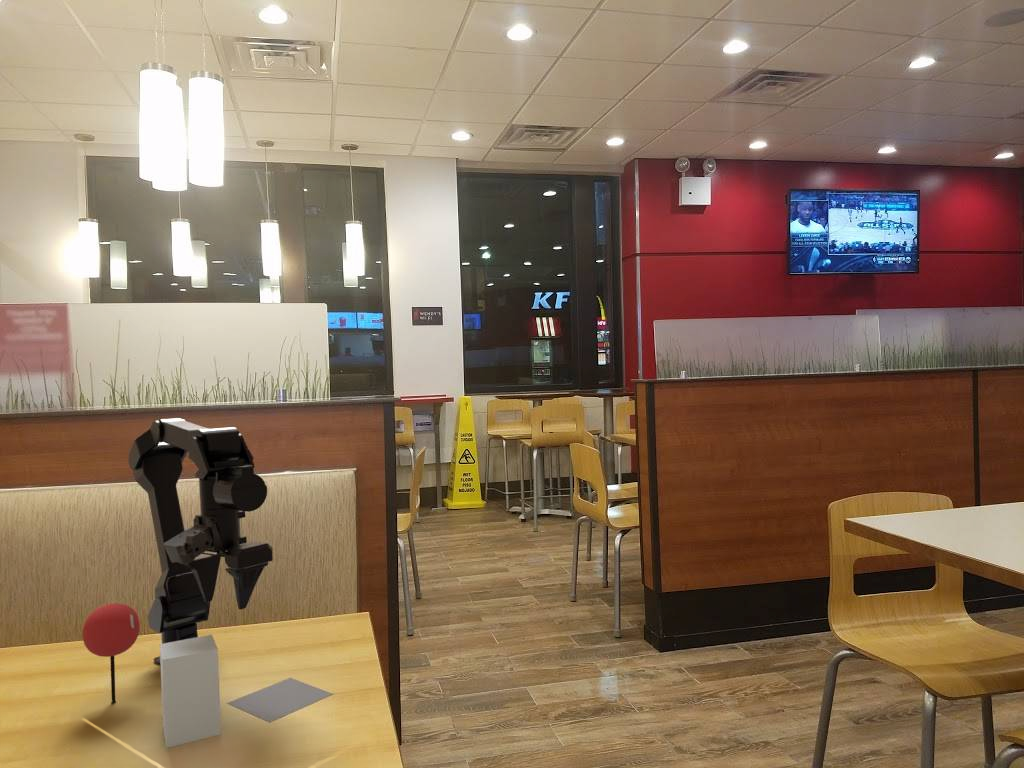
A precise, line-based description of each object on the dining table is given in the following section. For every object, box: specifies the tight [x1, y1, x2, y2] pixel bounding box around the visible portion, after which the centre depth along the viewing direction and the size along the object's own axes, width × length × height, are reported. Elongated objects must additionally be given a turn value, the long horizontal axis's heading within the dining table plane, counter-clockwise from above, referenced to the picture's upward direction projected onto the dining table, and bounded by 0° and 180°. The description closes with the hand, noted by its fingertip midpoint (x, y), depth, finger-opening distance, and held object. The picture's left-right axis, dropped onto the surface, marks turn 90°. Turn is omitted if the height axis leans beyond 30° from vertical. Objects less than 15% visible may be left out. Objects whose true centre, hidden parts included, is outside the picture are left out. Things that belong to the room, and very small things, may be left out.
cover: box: [159, 634, 222, 749], centre depth 100 cm, size 7×7×12 cm
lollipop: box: [82, 602, 141, 704], centre depth 111 cm, size 8×8×15 cm
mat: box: [227, 677, 334, 723], centre depth 110 cm, size 11×11×1 cm
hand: (225, 605), depth 116 cm, fingers open, 9 cm apart
